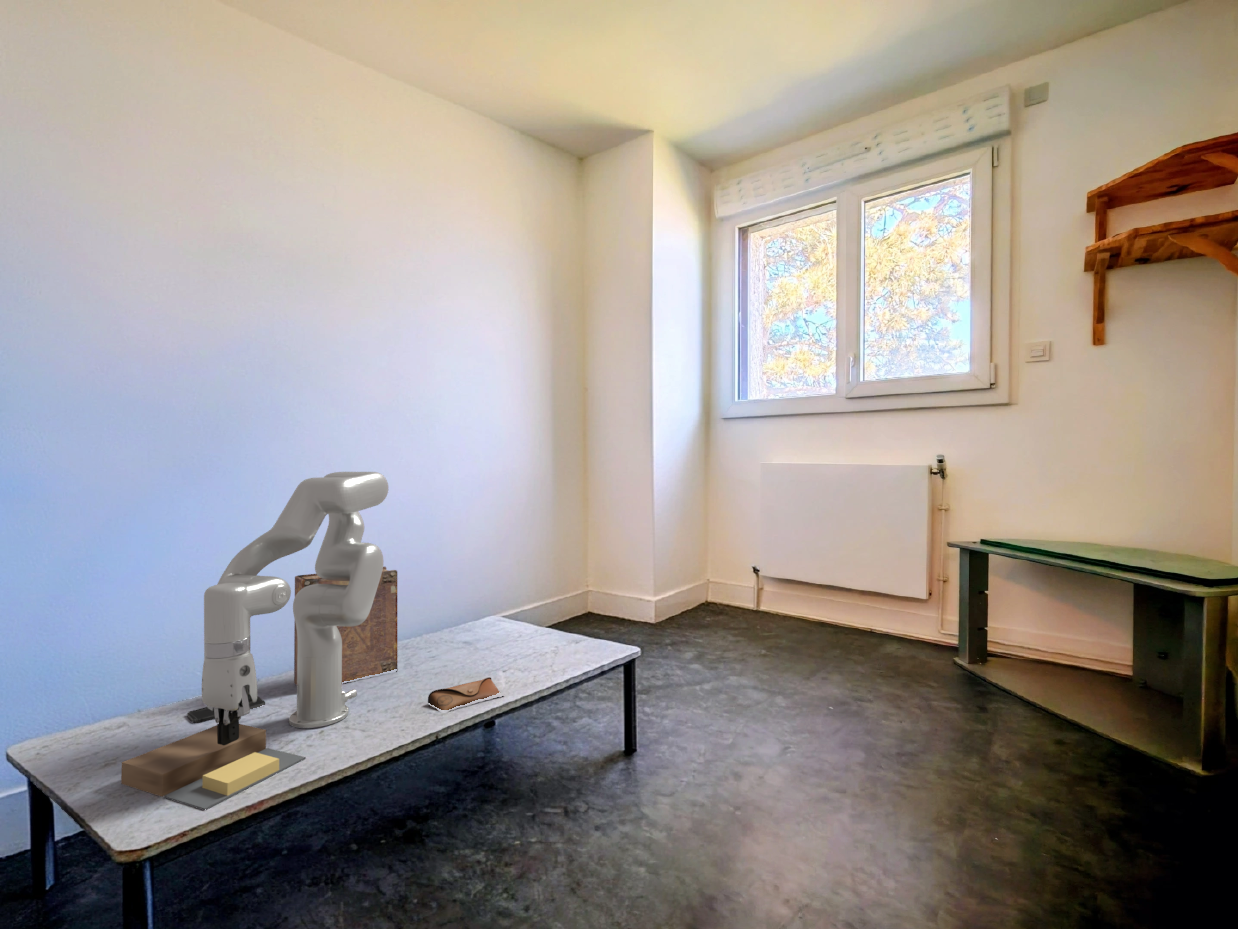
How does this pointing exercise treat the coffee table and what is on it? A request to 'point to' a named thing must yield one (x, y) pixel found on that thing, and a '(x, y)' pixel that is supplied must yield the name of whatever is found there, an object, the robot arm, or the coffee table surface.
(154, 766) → the brown wooden block
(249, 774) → the tile
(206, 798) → the mat
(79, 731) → the coffee table surface
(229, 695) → the robot arm
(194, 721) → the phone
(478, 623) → the coffee table surface
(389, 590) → the book
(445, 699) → the sunglasses case
